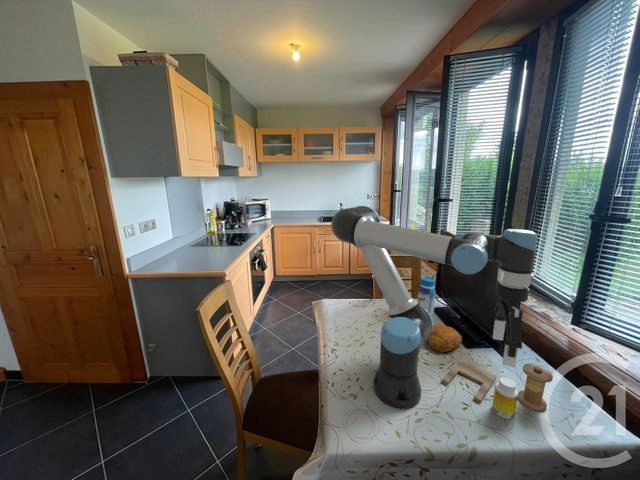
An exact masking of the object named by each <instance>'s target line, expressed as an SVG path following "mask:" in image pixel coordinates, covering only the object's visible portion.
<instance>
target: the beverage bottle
mask: <svg viewBox="0 0 640 480" xmlns="http://www.w3.org/2000/svg"><path fill="white" fill-rule="evenodd" d="M419 282H420V283H419V284H420V286H419V287H418V289H417V292H418V293H417V300H418V302H419V304H420V306H422V307H423V308H425V309H427V311H428V312H429V313H430V315H431V317H432V318H433V317H434V310H435V303H436V302H435V300H436V293H437V292H436V289H435V285H436V279H435V278H433V277H432V276H422V277H420V281H419Z"/></svg>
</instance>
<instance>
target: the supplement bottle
mask: <svg viewBox="0 0 640 480" xmlns="http://www.w3.org/2000/svg"><path fill="white" fill-rule="evenodd" d="M518 393H519V391H518V390H517V384H516V382H515V381H513V380H512V379H510V378H507V377H500V378H499V381H498V382H496V384H495V385H494V390H493V396H492V397H493V398H492V404H491V408H492V410H493V412H494V413H495V415H498V416H499V417H501V418H502V419H505V420H506V419H507V420H510V419H513V418H514V417H515V415H516V414H515V413H516V409H517V403H518Z"/></svg>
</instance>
